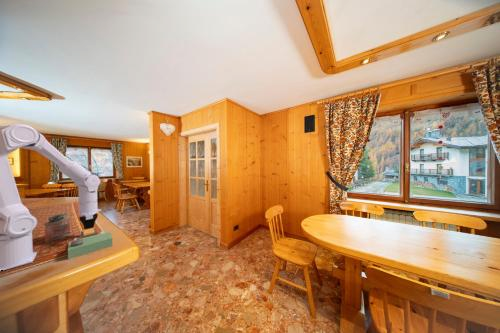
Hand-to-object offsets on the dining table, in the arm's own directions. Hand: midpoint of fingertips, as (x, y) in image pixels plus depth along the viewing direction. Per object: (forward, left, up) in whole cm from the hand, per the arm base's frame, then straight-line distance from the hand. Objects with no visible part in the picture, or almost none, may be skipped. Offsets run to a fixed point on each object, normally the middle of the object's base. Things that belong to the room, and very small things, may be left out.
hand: (89, 231), depth 68 cm
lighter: (-9, +8, -2) cm, 12 cm away
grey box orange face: (0, -8, -2) cm, 8 cm away
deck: (0, -14, -1) cm, 14 cm away
